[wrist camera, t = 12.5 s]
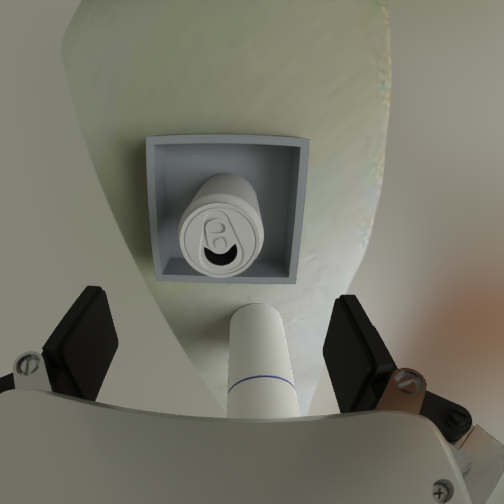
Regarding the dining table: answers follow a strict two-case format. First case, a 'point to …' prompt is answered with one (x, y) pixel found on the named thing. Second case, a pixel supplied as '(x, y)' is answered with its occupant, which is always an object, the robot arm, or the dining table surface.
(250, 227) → the beverage can
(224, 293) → the dining table surface
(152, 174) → the box
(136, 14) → the dining table surface
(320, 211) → the dining table surface
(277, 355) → the cylindrical container
